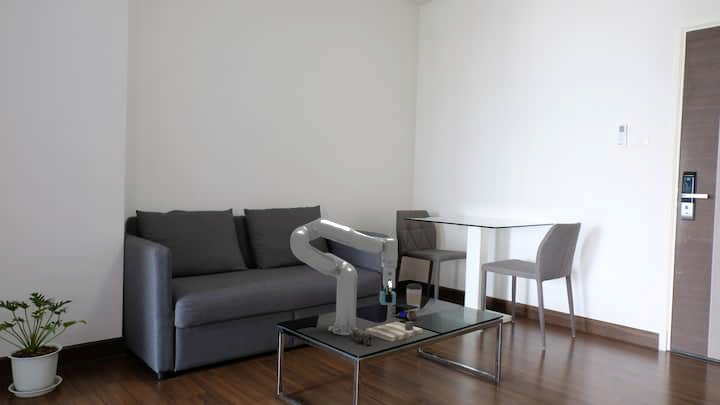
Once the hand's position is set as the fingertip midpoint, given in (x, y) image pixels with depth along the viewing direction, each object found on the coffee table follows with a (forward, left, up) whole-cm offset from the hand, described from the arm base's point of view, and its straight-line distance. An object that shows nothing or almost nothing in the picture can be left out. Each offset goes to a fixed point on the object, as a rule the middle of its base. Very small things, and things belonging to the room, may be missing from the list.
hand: (387, 300), depth 246 cm
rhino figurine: (-21, -3, -16) cm, 26 cm away
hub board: (+2, -3, -16) cm, 16 cm away
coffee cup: (+47, +22, -16) cm, 54 cm away
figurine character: (+28, +13, -16) cm, 35 cm away
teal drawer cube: (0, 0, -1) cm, 1 cm away
